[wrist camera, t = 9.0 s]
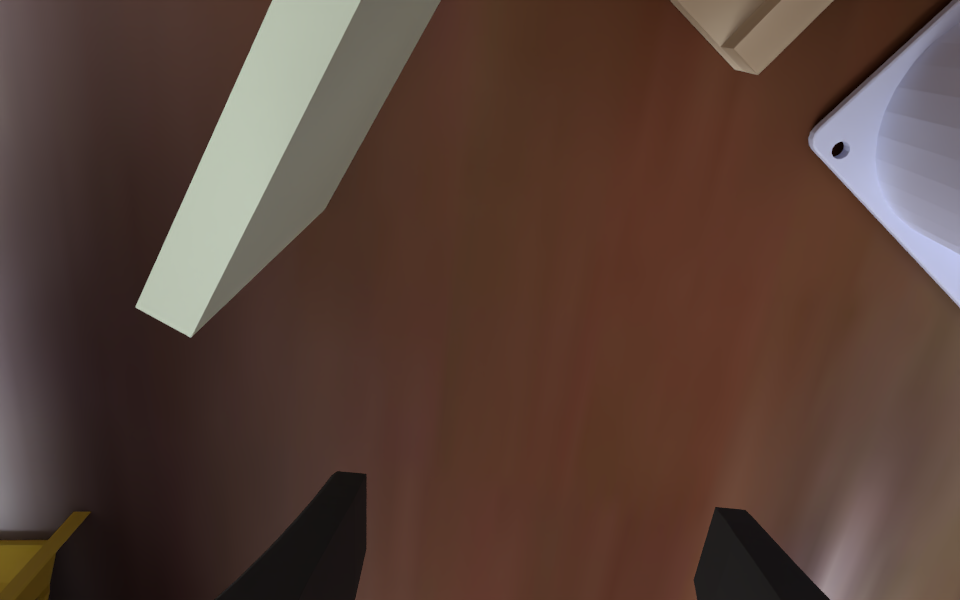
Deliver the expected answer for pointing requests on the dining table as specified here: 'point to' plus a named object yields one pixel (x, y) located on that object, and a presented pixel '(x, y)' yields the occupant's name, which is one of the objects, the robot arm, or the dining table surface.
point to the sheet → (280, 146)
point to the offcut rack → (750, 27)
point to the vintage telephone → (32, 562)
